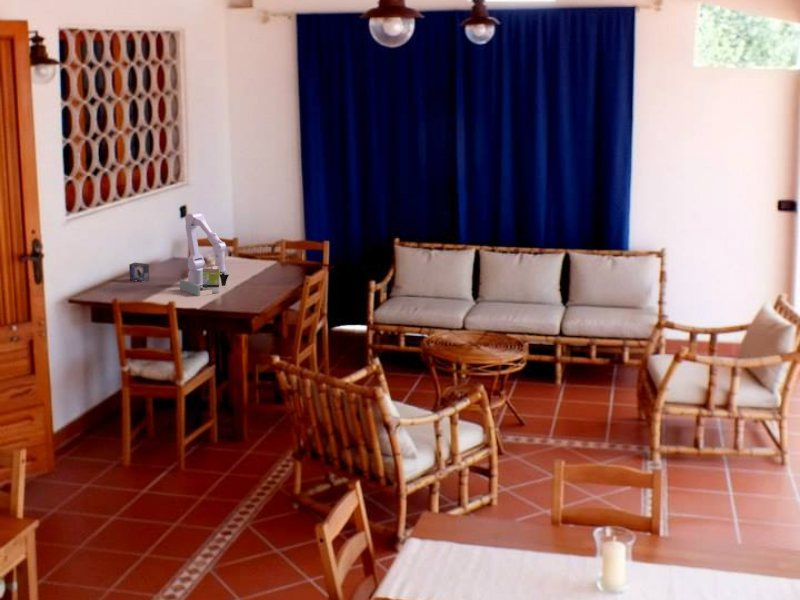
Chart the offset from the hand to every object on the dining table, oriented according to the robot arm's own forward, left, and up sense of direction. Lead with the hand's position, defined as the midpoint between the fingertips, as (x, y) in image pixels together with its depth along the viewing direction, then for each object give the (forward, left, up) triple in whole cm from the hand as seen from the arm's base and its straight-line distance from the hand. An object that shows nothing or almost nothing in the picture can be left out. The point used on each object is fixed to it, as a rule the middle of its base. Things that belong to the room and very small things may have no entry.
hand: (220, 284), depth 701 cm
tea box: (+2, -7, -3) cm, 8 cm away
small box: (-49, -29, -3) cm, 57 cm away
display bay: (0, -17, -2) cm, 17 cm away
